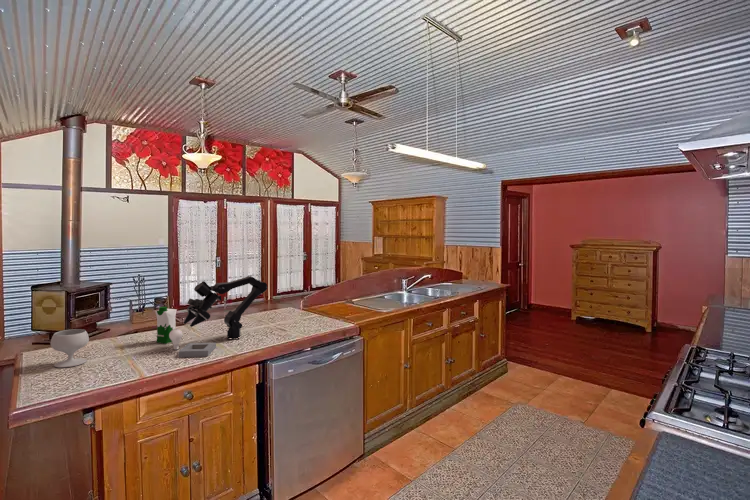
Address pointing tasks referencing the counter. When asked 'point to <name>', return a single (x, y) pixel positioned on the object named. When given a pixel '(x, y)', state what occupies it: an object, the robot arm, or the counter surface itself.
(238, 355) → the counter surface
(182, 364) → the counter surface
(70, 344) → the chalice
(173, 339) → the lightbulb
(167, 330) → the milk carton
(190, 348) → the holder
